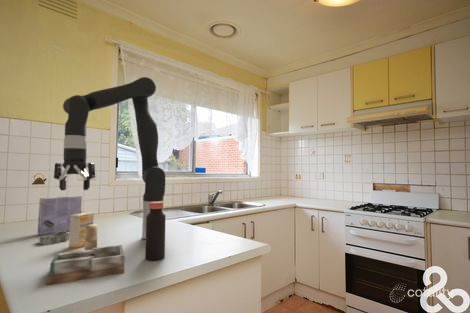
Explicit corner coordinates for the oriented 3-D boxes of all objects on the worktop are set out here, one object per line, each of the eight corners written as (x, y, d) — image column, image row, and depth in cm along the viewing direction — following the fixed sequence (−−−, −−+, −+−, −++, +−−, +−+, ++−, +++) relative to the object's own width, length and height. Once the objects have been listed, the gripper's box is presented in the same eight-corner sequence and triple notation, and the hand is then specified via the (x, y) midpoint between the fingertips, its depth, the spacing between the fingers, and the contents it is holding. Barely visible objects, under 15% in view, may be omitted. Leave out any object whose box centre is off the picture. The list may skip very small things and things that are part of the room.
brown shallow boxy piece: (121, 257, 95) (121, 243, 96) (124, 272, 81) (124, 256, 81) (54, 265, 86) (55, 251, 87) (45, 285, 72) (46, 267, 72)
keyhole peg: (100, 251, 101) (101, 223, 102) (100, 256, 96) (101, 226, 96) (81, 254, 98) (82, 224, 99) (79, 259, 93) (80, 228, 93)
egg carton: (64, 238, 123) (65, 229, 123) (71, 240, 118) (71, 231, 118) (37, 242, 114) (37, 233, 114) (43, 245, 110) (43, 235, 110)
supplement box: (78, 248, 106) (79, 215, 107) (68, 247, 107) (69, 215, 108) (93, 242, 114) (94, 212, 115) (83, 242, 115) (84, 211, 116)
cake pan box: (78, 227, 143) (79, 195, 144) (83, 228, 140) (84, 195, 141) (36, 234, 128) (38, 198, 129) (40, 236, 125) (42, 198, 126)
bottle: (154, 262, 90) (155, 203, 91) (141, 258, 94) (142, 202, 95) (168, 256, 96) (169, 201, 97) (156, 253, 100) (157, 200, 101)
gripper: (98, 148, 105) (98, 189, 104) (62, 148, 105) (61, 189, 104) (88, 147, 98) (88, 190, 97) (49, 147, 97) (48, 191, 97)
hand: (74, 190), depth 100 cm, fingers open, 8 cm apart
